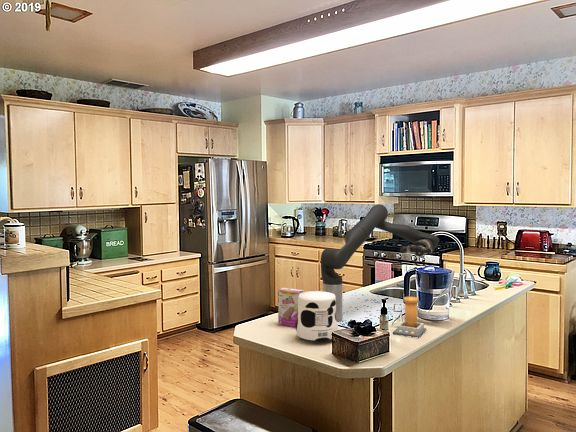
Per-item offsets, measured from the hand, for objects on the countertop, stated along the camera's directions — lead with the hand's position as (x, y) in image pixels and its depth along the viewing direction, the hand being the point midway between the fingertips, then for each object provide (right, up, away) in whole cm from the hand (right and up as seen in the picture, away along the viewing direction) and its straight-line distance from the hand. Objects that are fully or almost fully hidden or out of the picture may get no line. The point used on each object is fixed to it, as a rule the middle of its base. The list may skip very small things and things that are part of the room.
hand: (411, 251), depth 218 cm
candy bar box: (-56, -33, -7) cm, 65 cm away
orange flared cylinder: (-5, -32, -16) cm, 36 cm away
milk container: (-46, -34, -24) cm, 62 cm away
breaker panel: (-6, -33, -17) cm, 38 cm away
